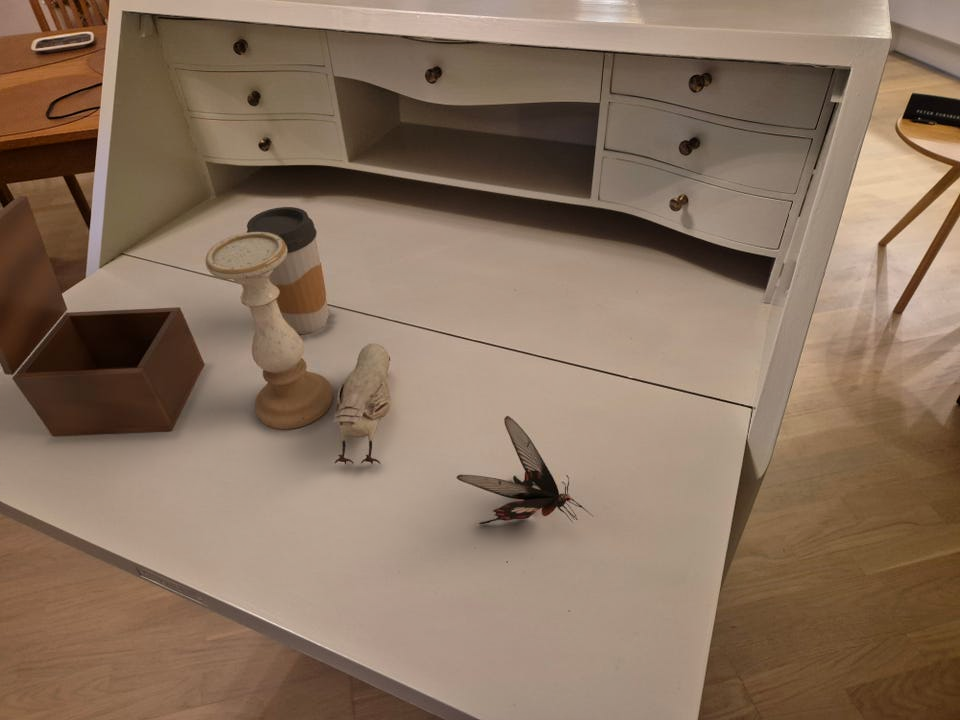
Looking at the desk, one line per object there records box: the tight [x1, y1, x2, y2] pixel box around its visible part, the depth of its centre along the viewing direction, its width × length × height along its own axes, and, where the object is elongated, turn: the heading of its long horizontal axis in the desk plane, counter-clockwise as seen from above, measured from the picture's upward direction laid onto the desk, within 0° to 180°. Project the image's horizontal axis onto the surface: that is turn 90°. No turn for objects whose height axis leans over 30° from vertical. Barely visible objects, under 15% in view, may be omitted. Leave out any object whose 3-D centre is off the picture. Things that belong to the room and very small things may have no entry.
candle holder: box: [205, 232, 334, 430], centre depth 67 cm, size 9×9×20 cm
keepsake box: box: [11, 306, 205, 437], centre depth 73 cm, size 14×12×9 cm
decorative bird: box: [332, 342, 392, 466], centre depth 69 cm, size 5×16×8 cm, turn 178°
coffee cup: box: [246, 206, 330, 335], centre depth 81 cm, size 8×8×15 cm
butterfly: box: [456, 415, 595, 525], centre depth 58 cm, size 11×8×10 cm
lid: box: [0, 195, 68, 376], centre depth 65 cm, size 14×12×1 cm
